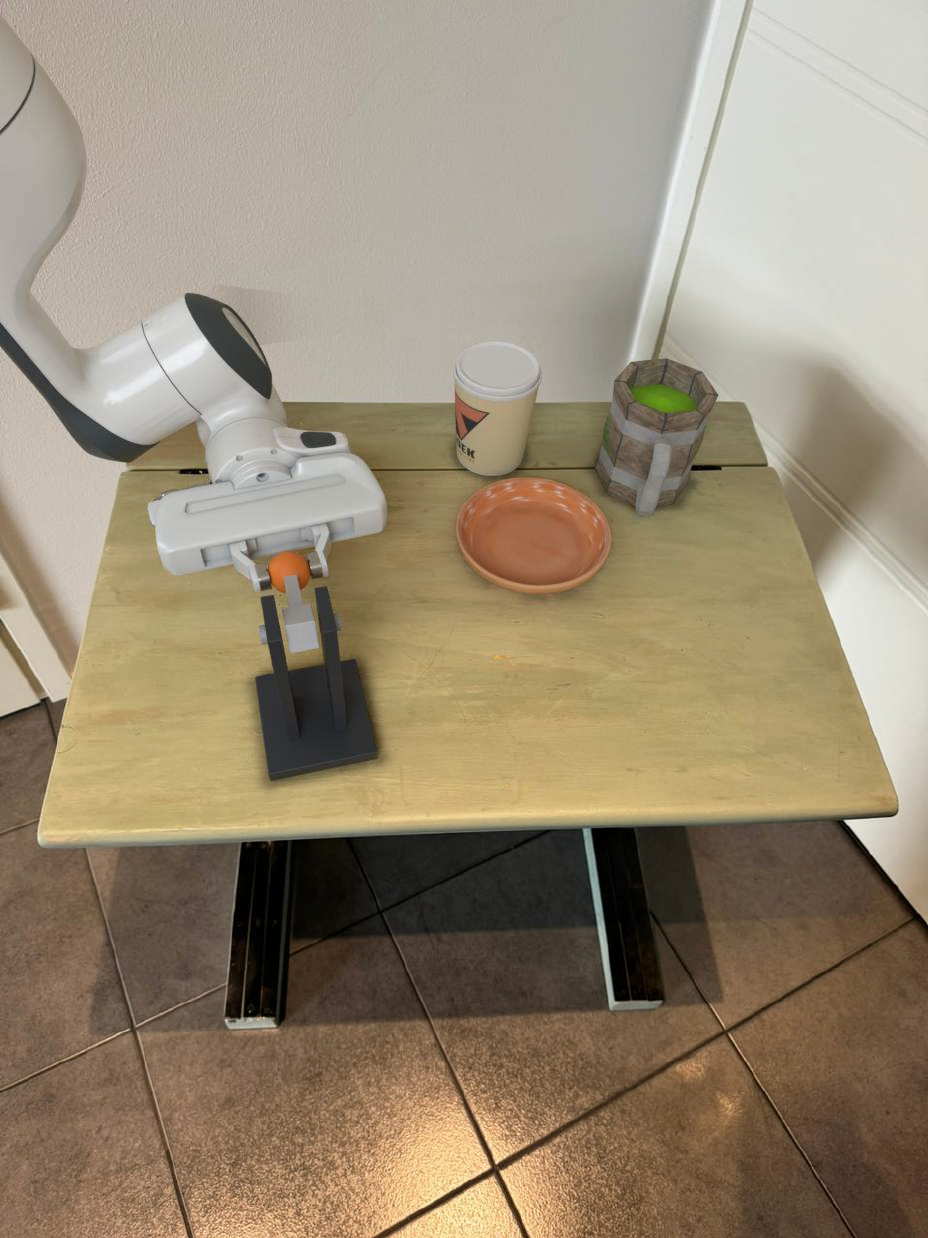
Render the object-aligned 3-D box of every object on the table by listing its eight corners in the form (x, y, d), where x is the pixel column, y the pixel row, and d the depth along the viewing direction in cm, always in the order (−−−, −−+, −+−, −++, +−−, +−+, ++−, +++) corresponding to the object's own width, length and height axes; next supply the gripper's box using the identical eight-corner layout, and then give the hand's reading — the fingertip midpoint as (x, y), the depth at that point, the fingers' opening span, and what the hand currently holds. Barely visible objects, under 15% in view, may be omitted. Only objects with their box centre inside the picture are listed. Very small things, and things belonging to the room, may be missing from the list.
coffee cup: (439, 435, 98) (442, 345, 89) (513, 423, 100) (524, 334, 91) (463, 487, 93) (469, 397, 83) (541, 473, 95) (556, 384, 85)
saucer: (434, 583, 83) (435, 562, 81) (478, 482, 93) (480, 461, 91) (590, 624, 81) (595, 604, 79) (619, 516, 91) (624, 496, 89)
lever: (270, 585, 73) (263, 547, 71) (311, 578, 74) (305, 541, 72) (281, 662, 62) (273, 620, 60) (329, 653, 63) (323, 611, 61)
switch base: (256, 684, 75) (229, 573, 63) (355, 665, 77) (346, 555, 65) (270, 781, 69) (242, 679, 57) (377, 759, 71) (371, 655, 59)
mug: (596, 439, 99) (616, 351, 90) (687, 452, 99) (717, 365, 89) (588, 531, 89) (609, 442, 80) (689, 546, 89) (722, 459, 79)
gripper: (135, 470, 73) (156, 582, 65) (360, 429, 79) (405, 528, 71) (152, 521, 78) (174, 632, 70) (363, 479, 84) (405, 577, 76)
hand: (292, 579), depth 71 cm, fingers closed on lever, 3 cm apart
